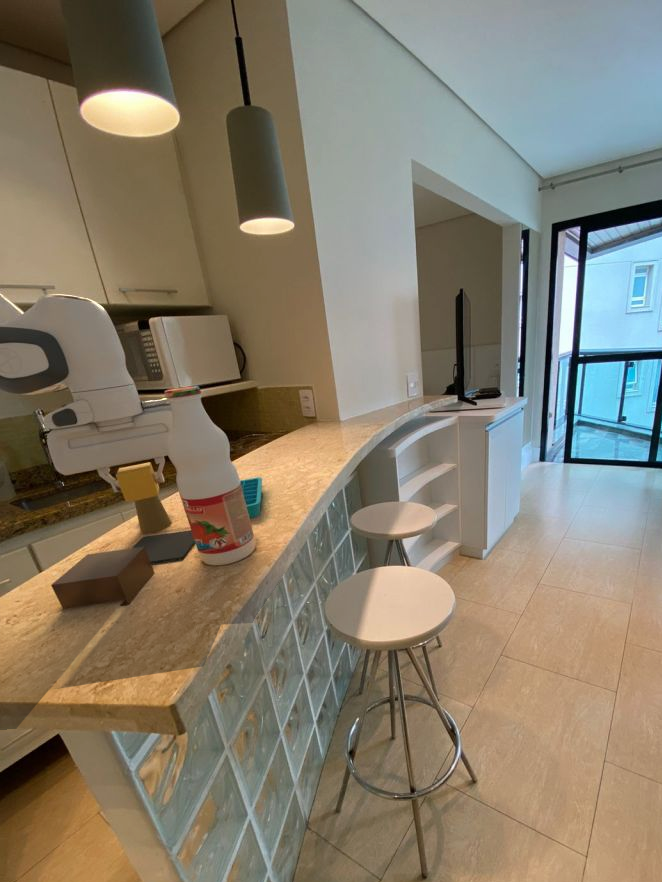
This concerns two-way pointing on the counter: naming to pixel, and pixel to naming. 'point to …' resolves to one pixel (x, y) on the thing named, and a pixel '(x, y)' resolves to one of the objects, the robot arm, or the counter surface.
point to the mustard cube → (137, 482)
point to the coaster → (167, 546)
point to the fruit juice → (207, 481)
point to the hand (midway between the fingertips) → (140, 486)
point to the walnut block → (104, 578)
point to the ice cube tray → (252, 495)
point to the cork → (151, 514)
